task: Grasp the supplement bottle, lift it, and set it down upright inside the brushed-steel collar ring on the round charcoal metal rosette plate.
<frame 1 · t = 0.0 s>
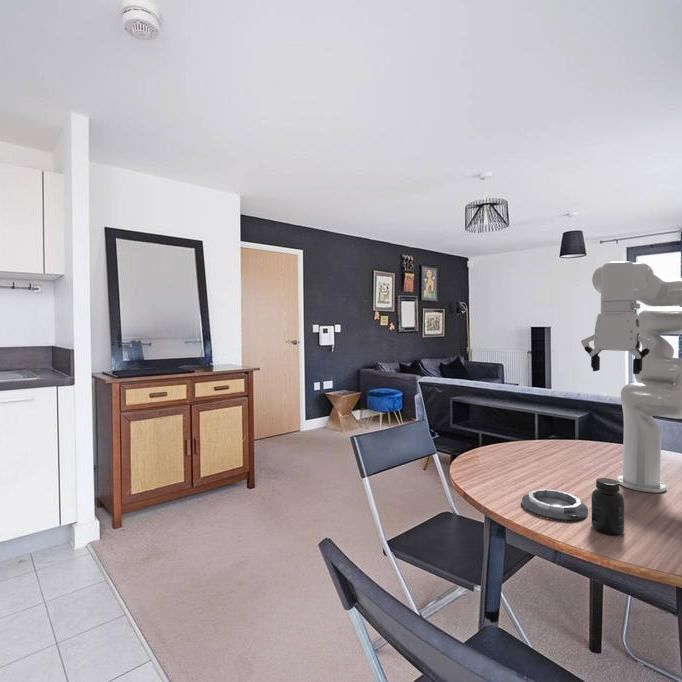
hand: (615, 372, 118), 37 cm above the table, tool pointing down, fingers open, 9 cm apart
supplement bottle: (607, 530, 106), on the table
rosette plate: (553, 508, 119), on the table
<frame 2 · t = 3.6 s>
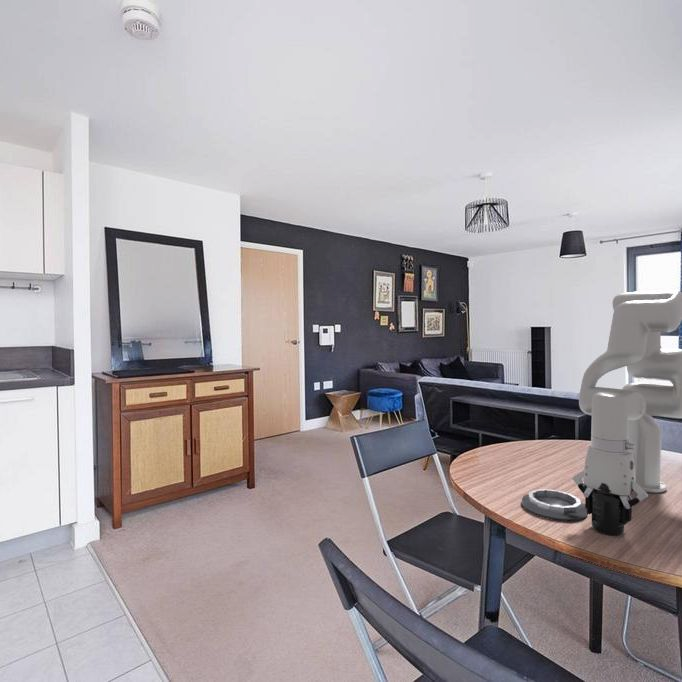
hand: (607, 517, 106), 3 cm above the table, tool pointing down, fingers closed on supplement bottle, 6 cm apart
supplement bottle: (607, 530, 106), on the table, touching gripper
when the fingers open (5 cm above the table, at t = 10.0 s): supplement bottle drops 1 cm, resting on rosette plate.
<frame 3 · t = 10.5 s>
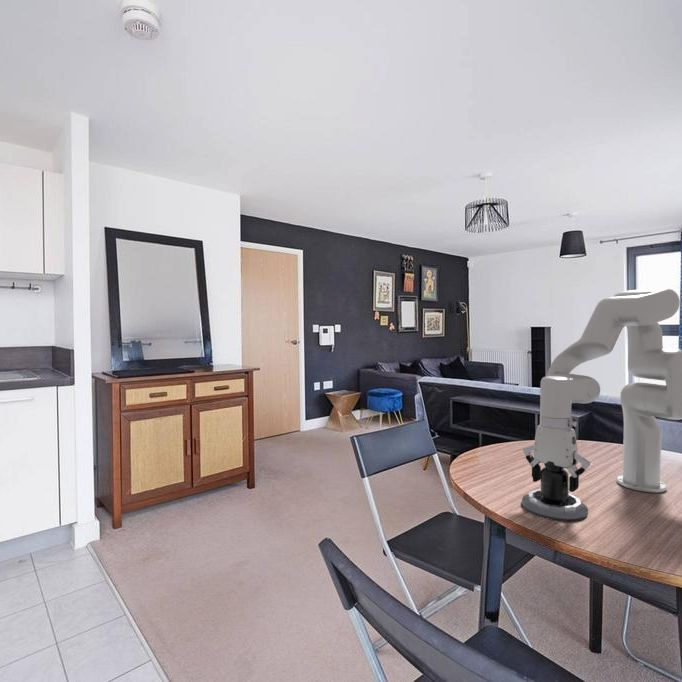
hand: (554, 485, 118), 6 cm above the table, tool pointing down, fingers open, 9 cm apart
supplement bottle: (554, 504, 119), point 1 cm above the table, touching rosette plate
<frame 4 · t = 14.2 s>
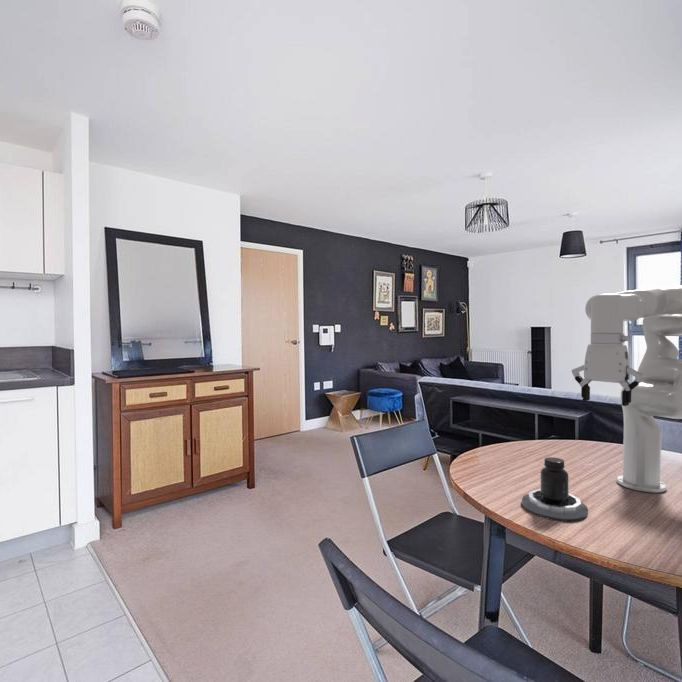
hand: (605, 402, 119), 28 cm above the table, tool pointing down, fingers open, 9 cm apart
nothing on the table moved.
at the end: supplement bottle 0.2 cm off-centre on the rosette plate, point 1.0 cm above the rosette plate's base; supplement bottle tilted 0°; the gripper is holding nothing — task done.
